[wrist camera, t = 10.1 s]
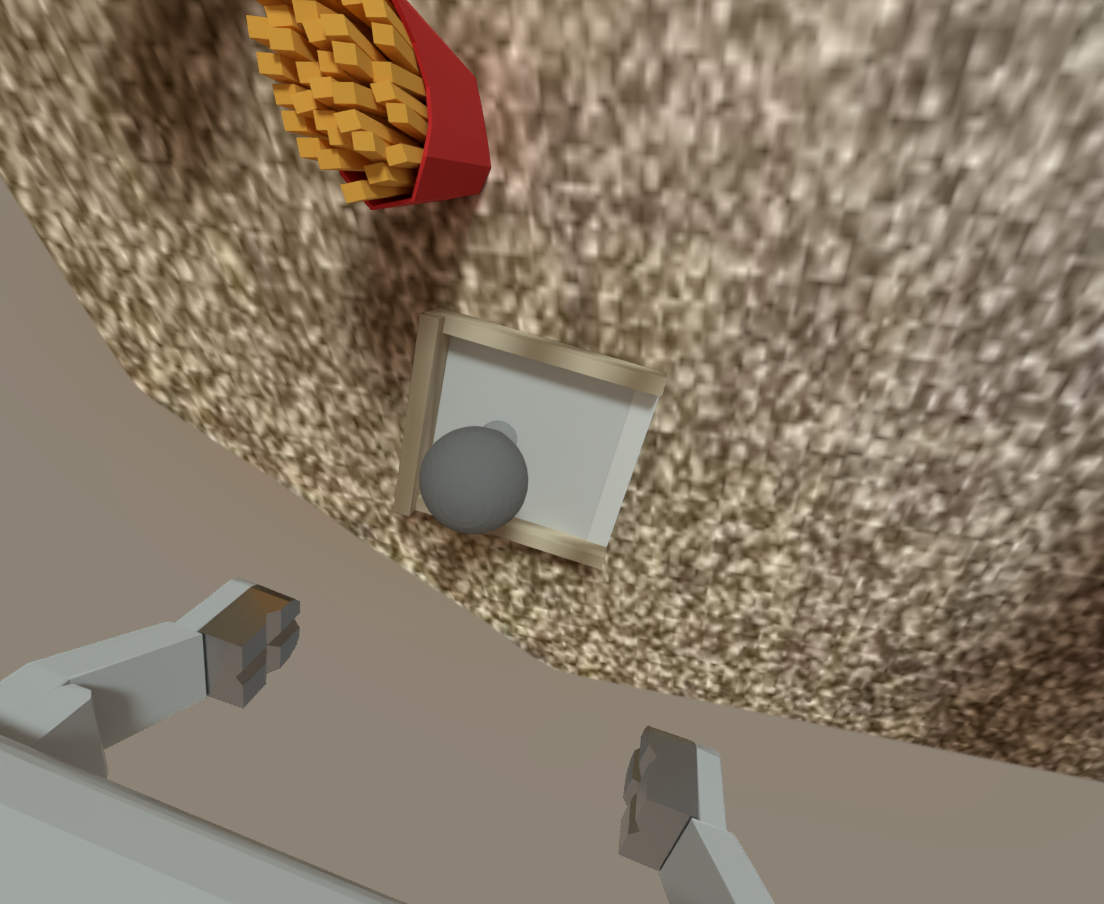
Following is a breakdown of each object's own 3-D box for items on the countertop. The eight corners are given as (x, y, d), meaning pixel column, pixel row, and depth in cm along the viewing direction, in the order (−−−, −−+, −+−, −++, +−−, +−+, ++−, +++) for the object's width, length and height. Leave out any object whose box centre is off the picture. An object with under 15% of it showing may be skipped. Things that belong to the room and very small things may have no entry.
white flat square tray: (666, 373, 32) (666, 374, 32) (603, 553, 38) (602, 557, 38) (439, 307, 34) (436, 308, 33) (411, 492, 39) (408, 495, 39)
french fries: (500, 207, 31) (400, 190, 19) (433, 220, 32) (298, 211, 20) (467, 17, 27) (322, -149, 16) (394, 38, 28) (204, -103, 17)
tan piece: (666, 373, 32) (666, 385, 30) (603, 553, 38) (599, 578, 35) (439, 307, 34) (419, 313, 31) (411, 492, 39) (393, 511, 37)
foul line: (666, 373, 32) (666, 375, 32) (603, 553, 38) (602, 558, 38) (643, 366, 32) (642, 368, 32) (583, 547, 38) (582, 551, 38)
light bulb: (495, 375, 34) (452, 425, 25) (561, 437, 35) (543, 508, 26) (438, 435, 36) (379, 502, 27) (502, 492, 37) (466, 575, 28)
